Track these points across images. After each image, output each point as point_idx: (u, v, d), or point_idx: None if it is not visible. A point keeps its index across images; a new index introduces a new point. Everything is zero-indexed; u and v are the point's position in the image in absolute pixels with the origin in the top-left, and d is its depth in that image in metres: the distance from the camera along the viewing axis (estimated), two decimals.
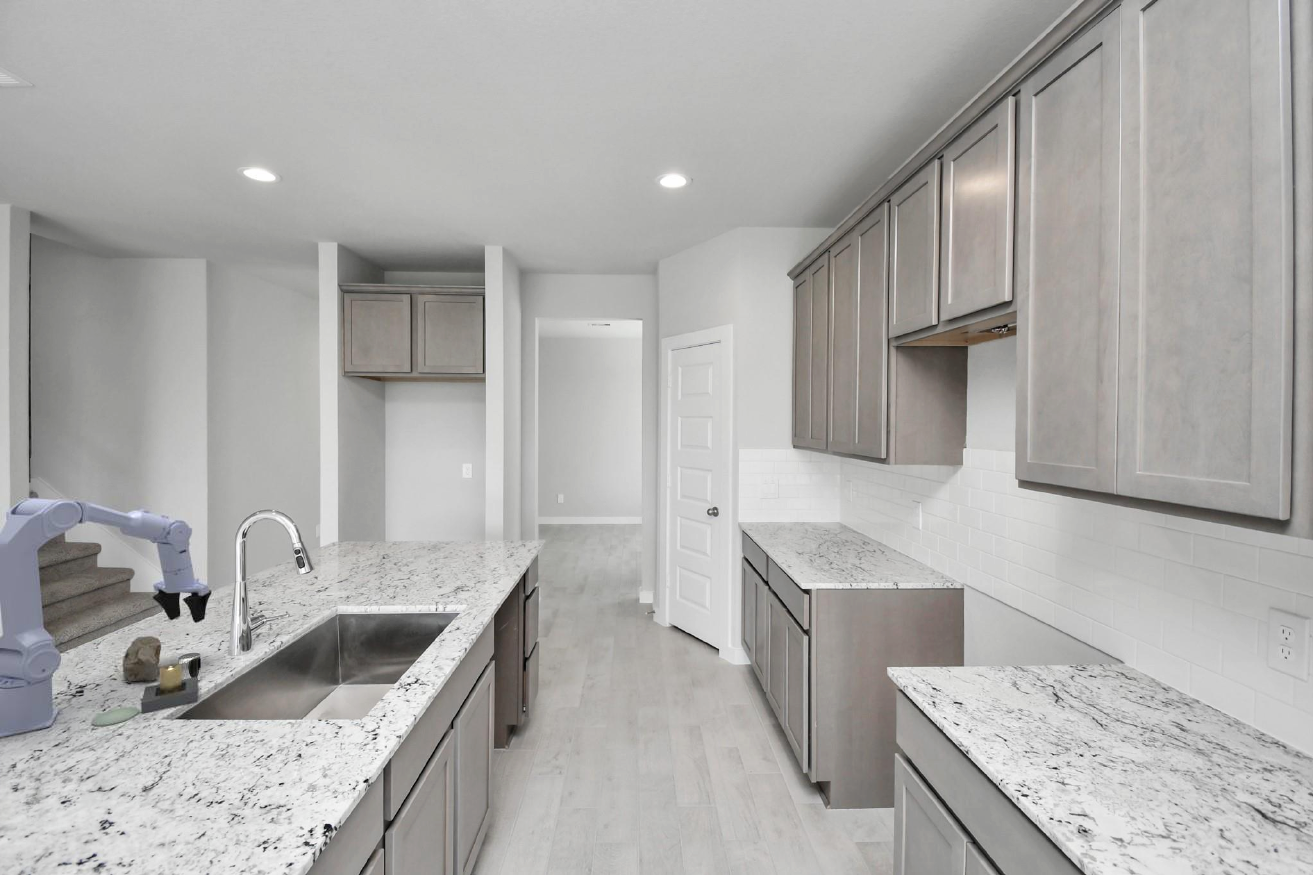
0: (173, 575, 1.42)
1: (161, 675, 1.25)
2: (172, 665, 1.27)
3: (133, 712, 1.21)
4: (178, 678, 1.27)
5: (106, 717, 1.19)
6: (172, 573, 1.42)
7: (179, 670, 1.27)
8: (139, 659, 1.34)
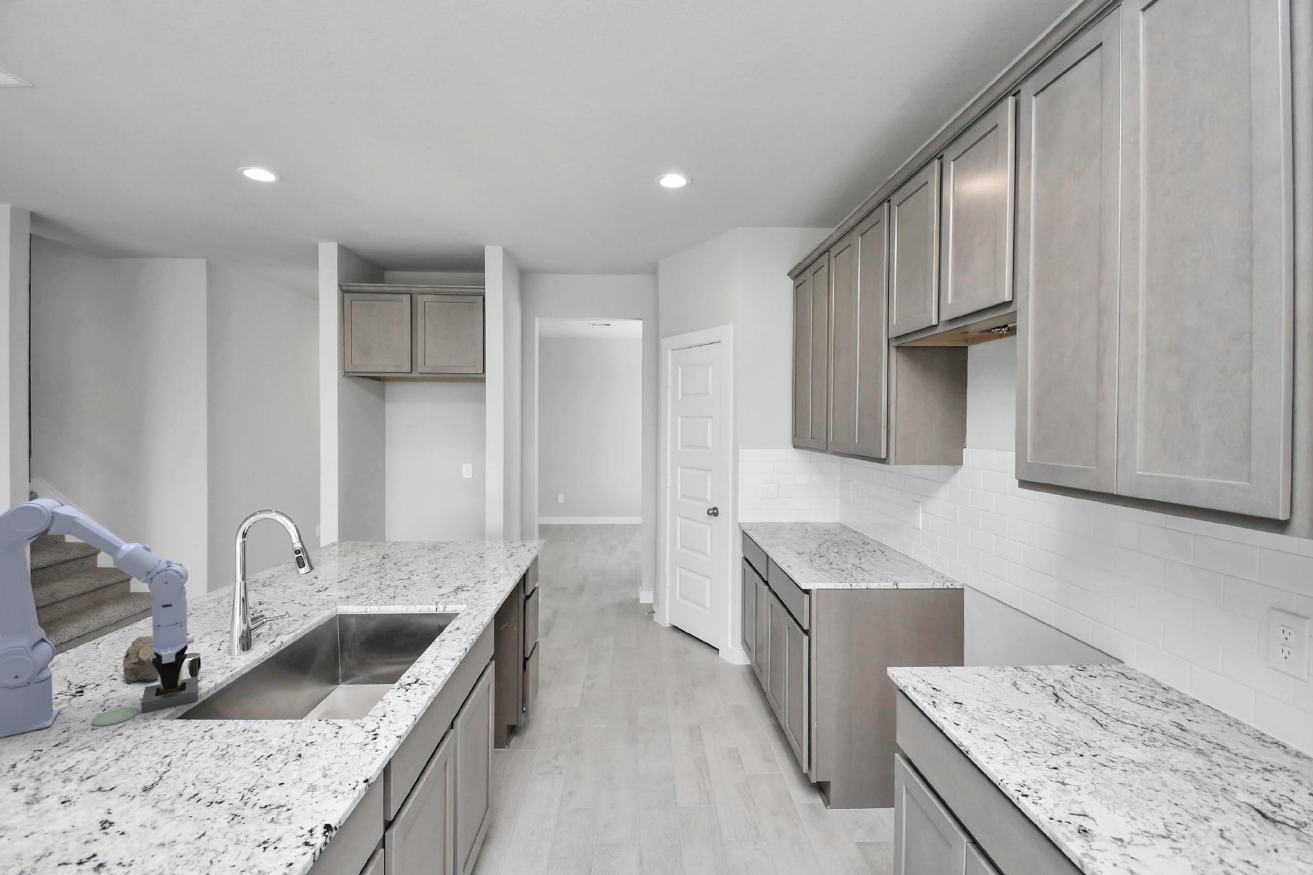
0: (155, 630, 1.24)
1: None
2: None
3: (133, 712, 1.21)
4: None
5: (106, 717, 1.19)
6: (154, 628, 1.24)
7: None
8: (140, 659, 1.34)
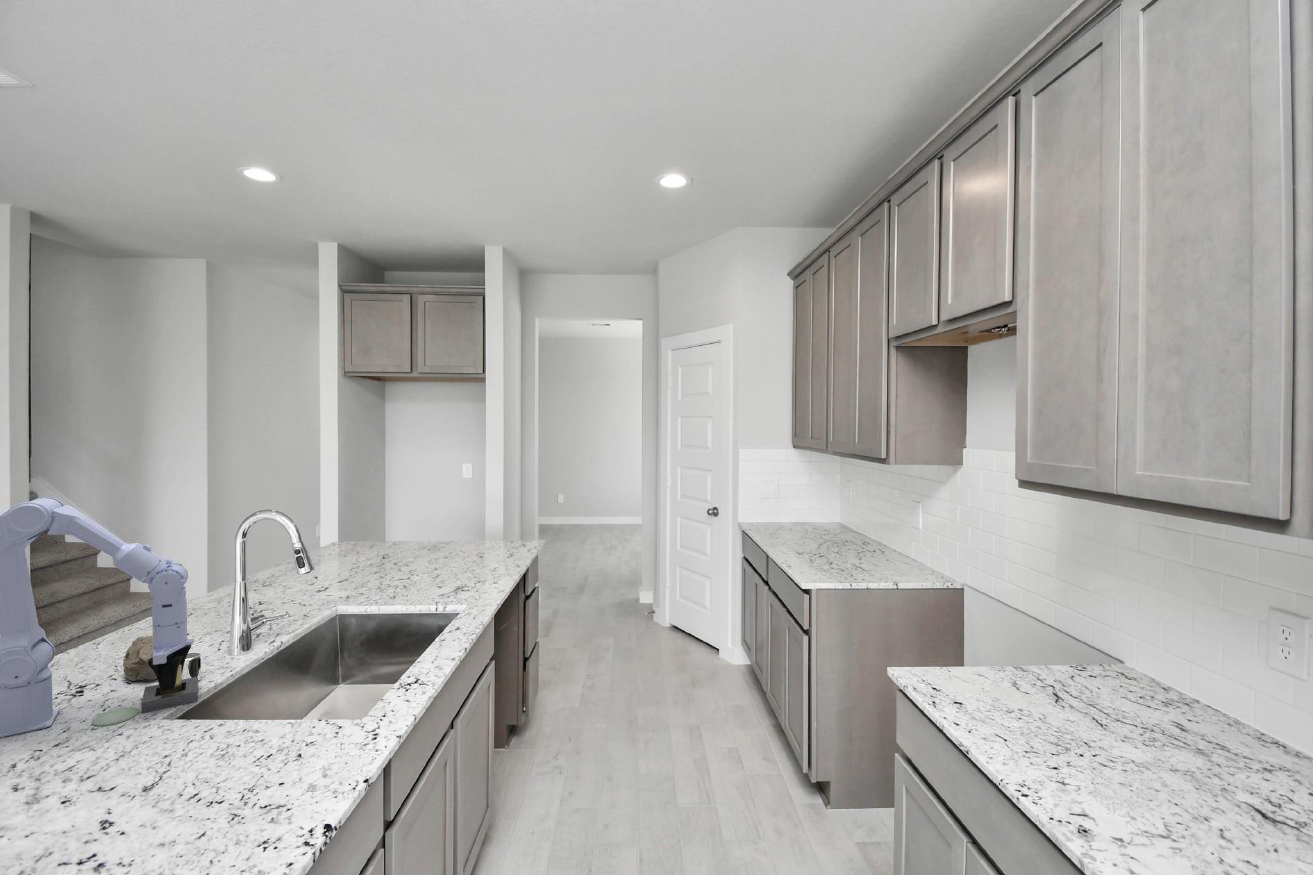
0: (153, 630, 1.24)
1: None
2: None
3: (133, 712, 1.21)
4: (176, 679, 1.27)
5: (106, 717, 1.19)
6: (153, 627, 1.25)
7: (177, 671, 1.27)
8: (140, 659, 1.34)
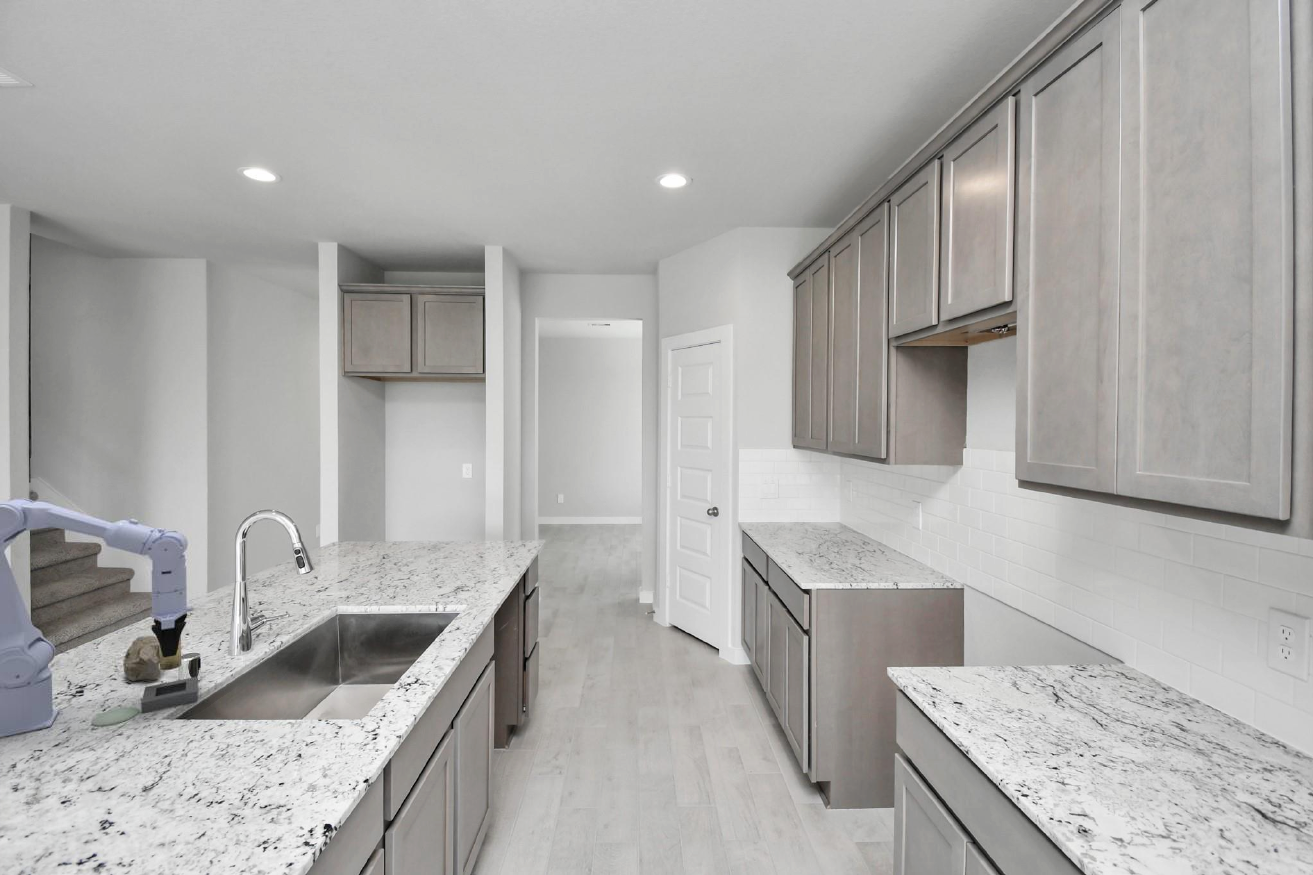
0: (154, 597, 1.24)
1: None
2: None
3: (133, 712, 1.21)
4: (178, 646, 1.27)
5: (106, 717, 1.19)
6: (154, 594, 1.24)
7: None
8: (141, 659, 1.35)
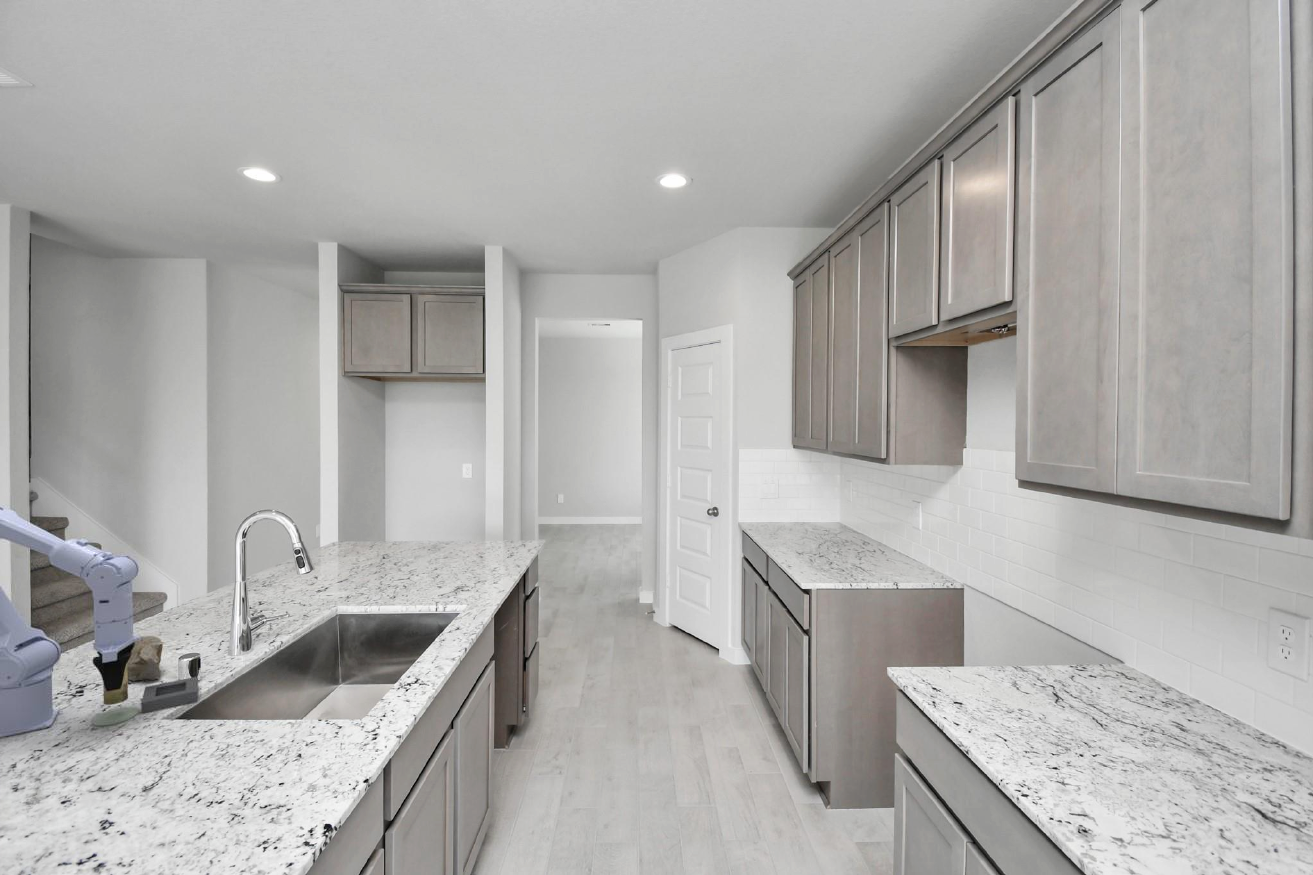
0: (96, 627, 1.16)
1: None
2: None
3: (133, 712, 1.21)
4: (123, 678, 1.19)
5: (106, 717, 1.19)
6: (96, 625, 1.16)
7: None
8: (141, 658, 1.35)
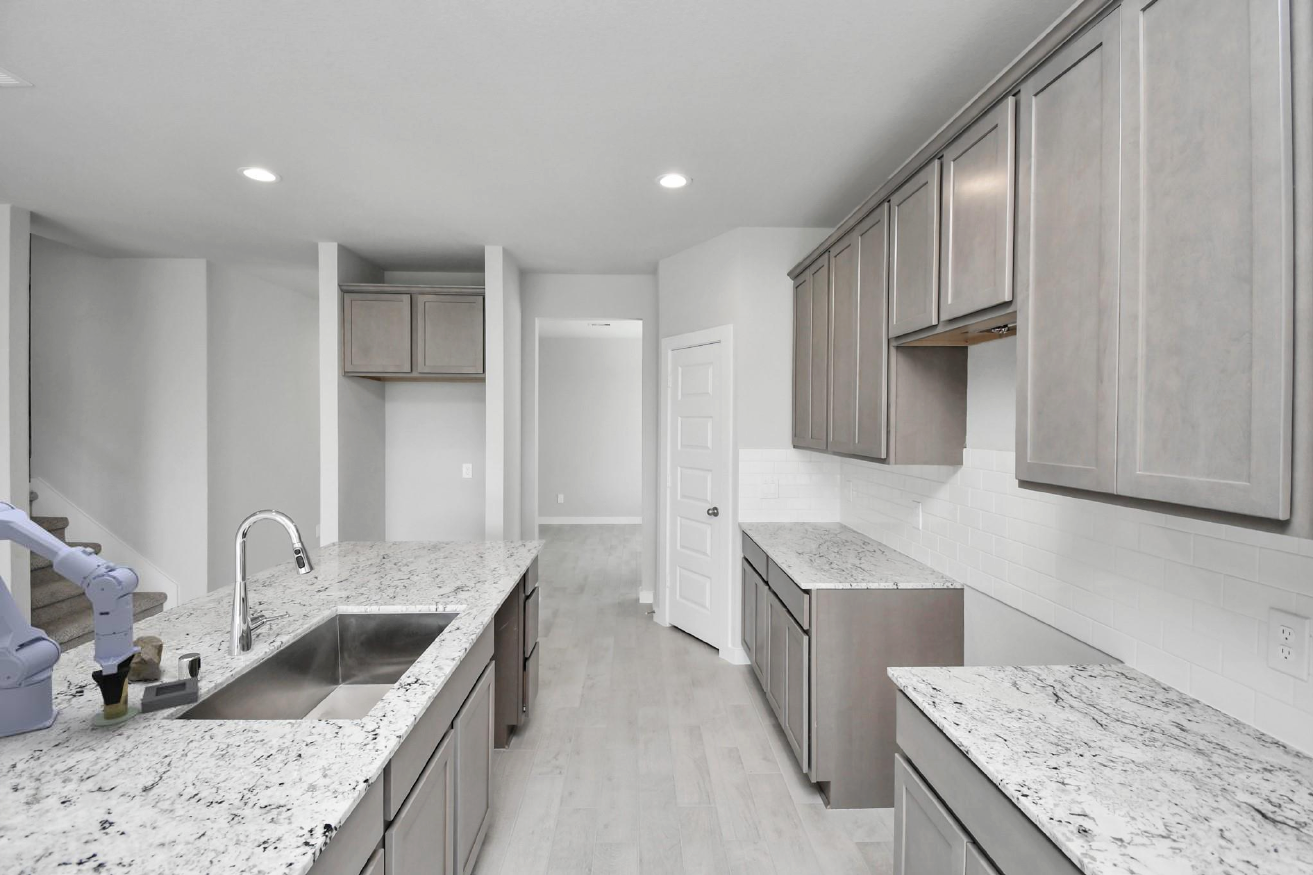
0: (96, 639, 1.16)
1: None
2: None
3: (133, 712, 1.21)
4: (124, 693, 1.19)
5: None
6: (96, 636, 1.16)
7: (125, 684, 1.19)
8: (142, 658, 1.35)
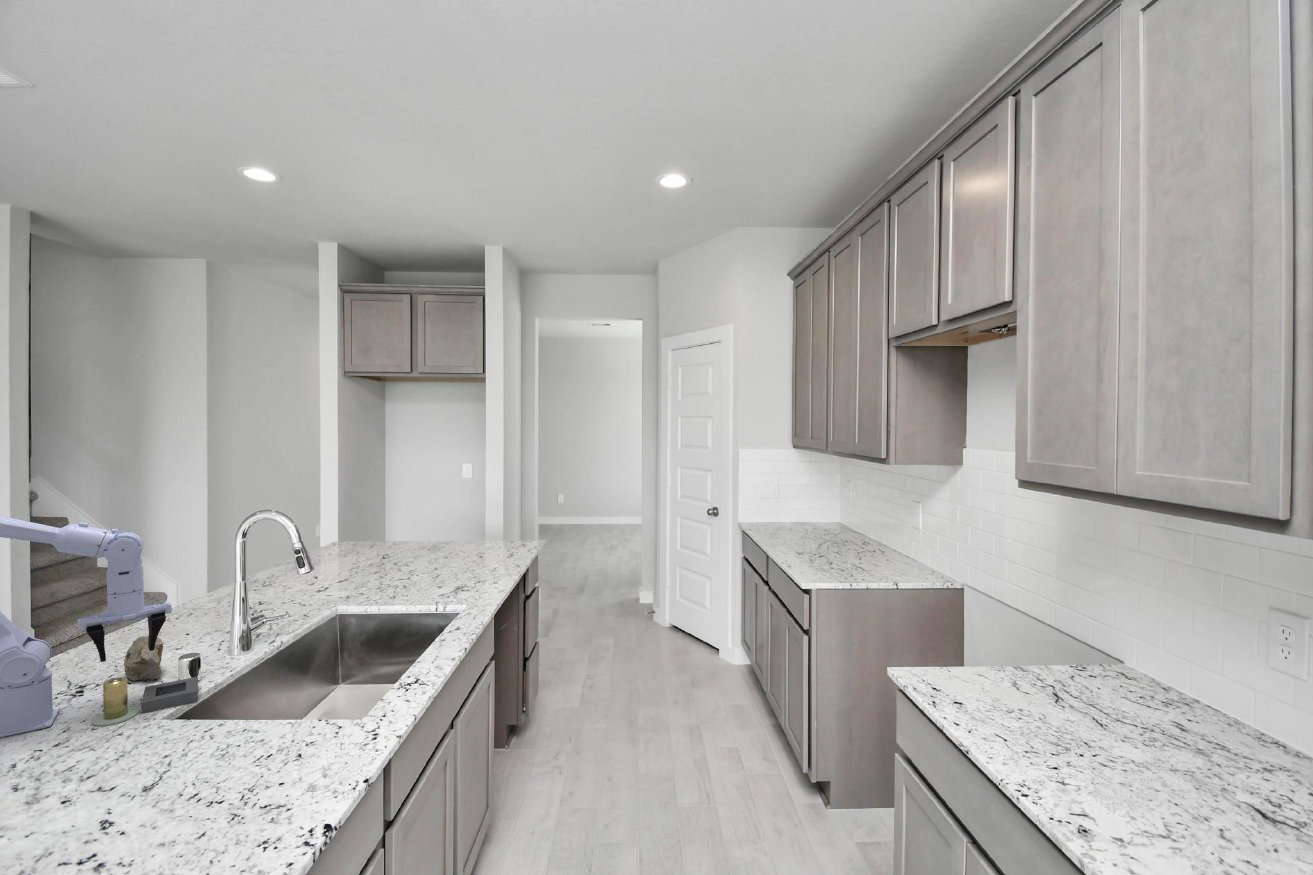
0: None
1: (104, 690, 1.18)
2: (117, 679, 1.19)
3: (133, 712, 1.21)
4: (123, 693, 1.19)
5: None
6: None
7: (124, 684, 1.19)
8: (142, 658, 1.35)
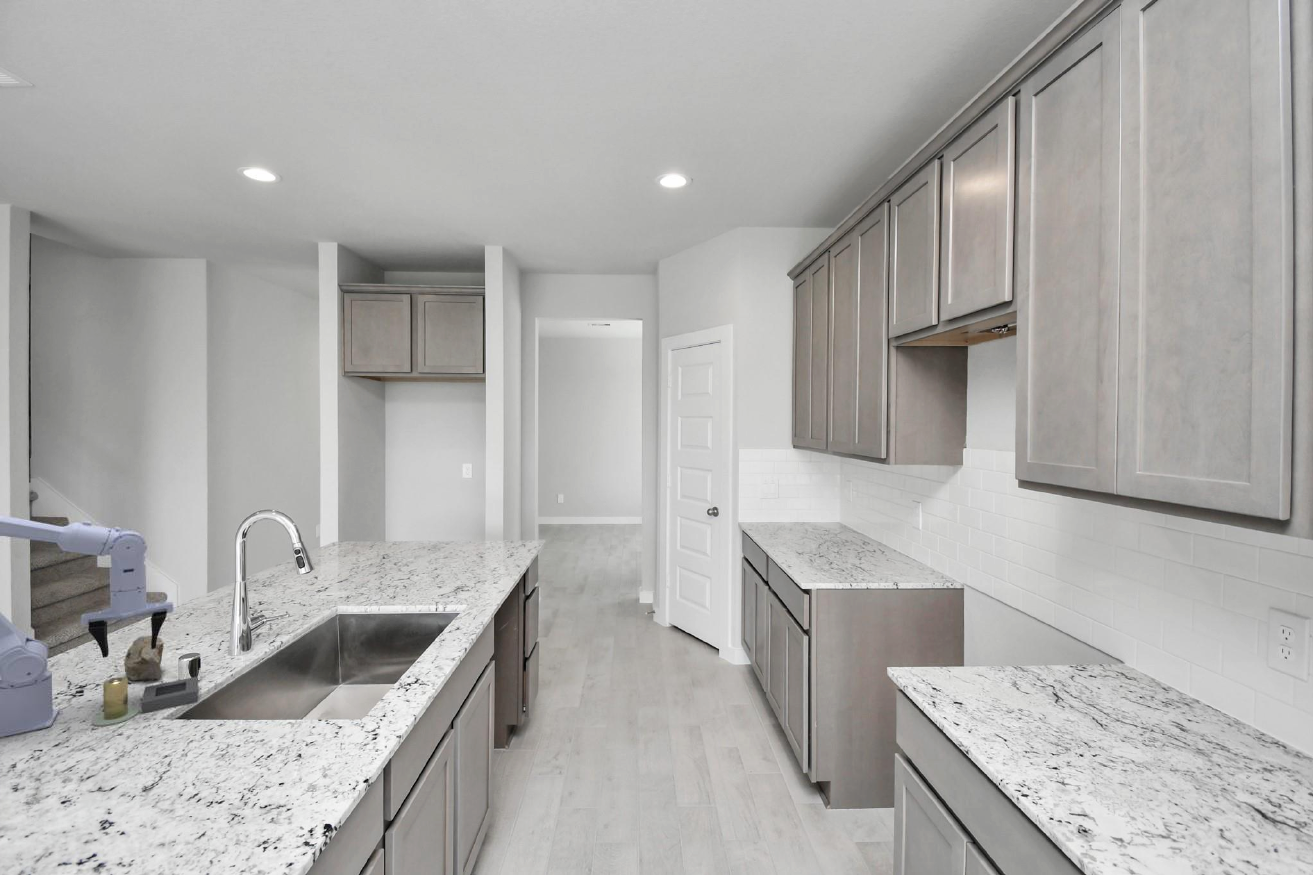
0: None
1: (104, 690, 1.18)
2: (117, 679, 1.19)
3: (133, 712, 1.21)
4: (124, 693, 1.19)
5: None
6: None
7: (124, 684, 1.19)
8: (143, 658, 1.35)
